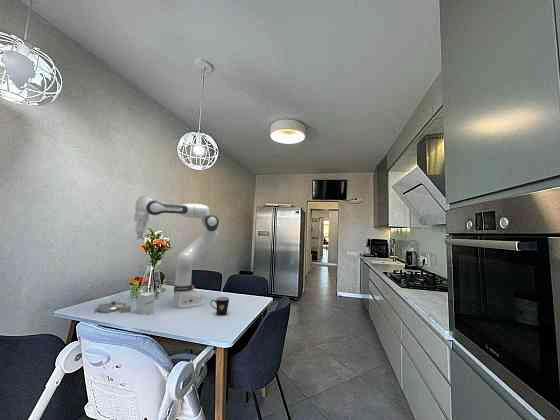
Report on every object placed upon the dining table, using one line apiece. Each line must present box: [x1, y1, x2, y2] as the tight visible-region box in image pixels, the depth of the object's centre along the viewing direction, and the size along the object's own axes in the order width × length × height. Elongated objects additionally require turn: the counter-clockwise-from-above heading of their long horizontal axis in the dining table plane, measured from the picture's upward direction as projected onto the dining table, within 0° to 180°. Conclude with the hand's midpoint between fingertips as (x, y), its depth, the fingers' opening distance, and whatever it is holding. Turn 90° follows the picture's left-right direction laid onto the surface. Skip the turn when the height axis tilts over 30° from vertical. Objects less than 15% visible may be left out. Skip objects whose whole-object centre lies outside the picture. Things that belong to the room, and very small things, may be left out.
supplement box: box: [135, 291, 156, 316], centre depth 152 cm, size 7×7×13 cm
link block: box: [120, 305, 132, 314], centre depth 150 cm, size 5×4×5 cm
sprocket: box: [94, 297, 127, 314], centre depth 154 cm, size 15×17×5 cm
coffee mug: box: [209, 296, 230, 316], centre depth 159 cm, size 12×9×10 cm
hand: (139, 238), depth 166 cm, fingers open, 8 cm apart
